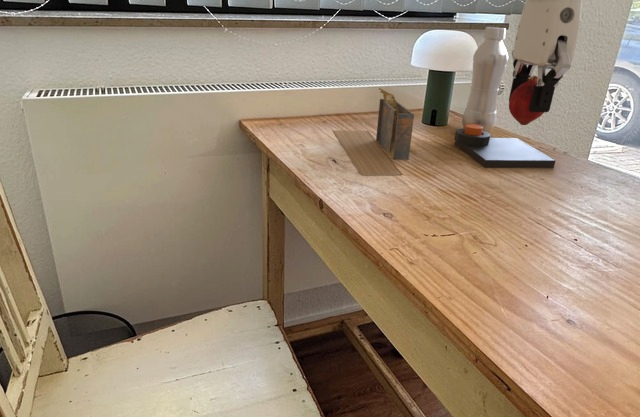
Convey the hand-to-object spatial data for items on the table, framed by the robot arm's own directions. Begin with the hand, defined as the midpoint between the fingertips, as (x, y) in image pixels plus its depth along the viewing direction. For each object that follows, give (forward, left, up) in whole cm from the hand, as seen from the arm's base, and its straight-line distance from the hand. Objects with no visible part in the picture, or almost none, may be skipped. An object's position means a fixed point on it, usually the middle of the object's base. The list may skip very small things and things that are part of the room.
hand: (528, 105), depth 80 cm
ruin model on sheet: (+20, -5, -10) cm, 23 cm away
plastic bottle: (-1, -17, -10) cm, 20 cm away
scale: (+1, -2, -9) cm, 10 cm away
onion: (0, 0, -3) cm, 3 cm away
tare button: (+5, -7, -7) cm, 11 cm away
